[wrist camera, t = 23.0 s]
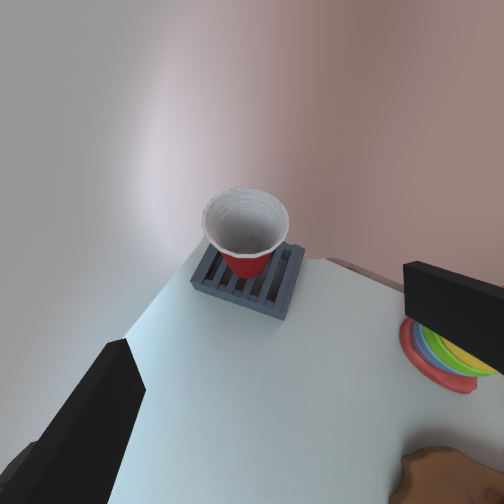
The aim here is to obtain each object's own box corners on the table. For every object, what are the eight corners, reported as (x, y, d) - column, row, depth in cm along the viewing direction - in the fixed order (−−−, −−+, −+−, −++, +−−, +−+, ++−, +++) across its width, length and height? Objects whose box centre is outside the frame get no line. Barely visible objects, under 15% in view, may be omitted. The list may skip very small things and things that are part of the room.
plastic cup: (278, 300, 36) (285, 262, 26) (209, 288, 38) (189, 248, 27) (285, 240, 42) (294, 189, 31) (225, 232, 43) (214, 181, 33)
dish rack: (195, 289, 42) (189, 279, 38) (222, 235, 47) (219, 223, 44) (283, 320, 39) (286, 313, 35) (302, 259, 44) (306, 247, 41)
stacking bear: (473, 399, 33) (662, 402, 17) (394, 369, 35) (499, 348, 19) (469, 323, 38) (612, 274, 22) (400, 301, 40) (487, 242, 24)
